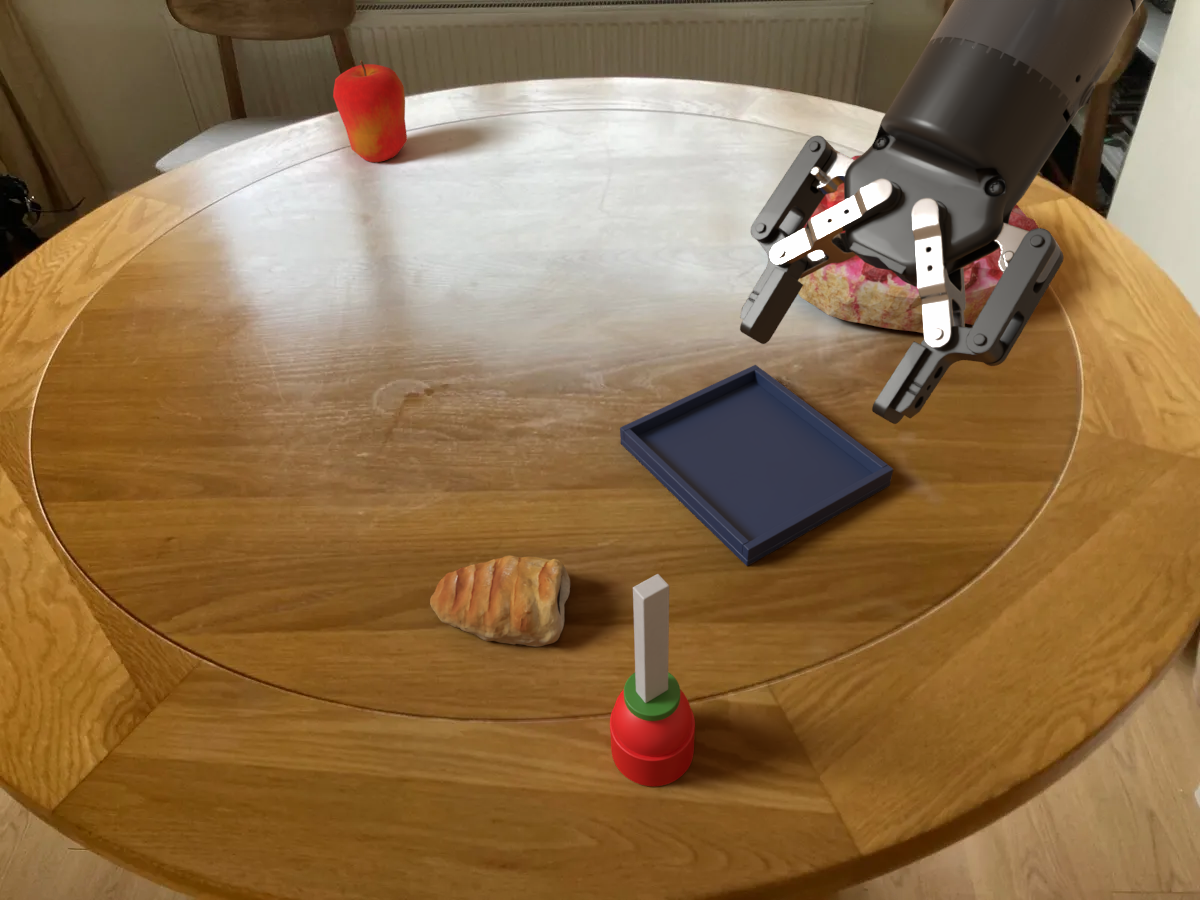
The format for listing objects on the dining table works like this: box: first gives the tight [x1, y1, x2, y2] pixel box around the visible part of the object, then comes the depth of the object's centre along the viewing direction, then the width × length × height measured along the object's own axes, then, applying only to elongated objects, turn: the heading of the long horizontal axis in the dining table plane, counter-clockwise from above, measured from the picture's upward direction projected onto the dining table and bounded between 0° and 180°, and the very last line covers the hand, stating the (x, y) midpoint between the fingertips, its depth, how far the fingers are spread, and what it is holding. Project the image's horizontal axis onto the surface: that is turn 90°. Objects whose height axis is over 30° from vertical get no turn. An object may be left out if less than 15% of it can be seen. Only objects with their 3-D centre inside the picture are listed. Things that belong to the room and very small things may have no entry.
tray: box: [619, 364, 894, 567], centre depth 76 cm, size 16×14×2 cm
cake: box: [798, 154, 1040, 334], centre depth 94 cm, size 25×25×8 cm
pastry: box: [429, 555, 571, 648], centre depth 65 cm, size 9×7×4 cm
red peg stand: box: [609, 573, 696, 787], centre depth 53 cm, size 5×5×15 cm
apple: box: [332, 59, 408, 163], centre depth 117 cm, size 9×8×12 cm
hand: (814, 376), depth 48 cm, fingers open, 8 cm apart
